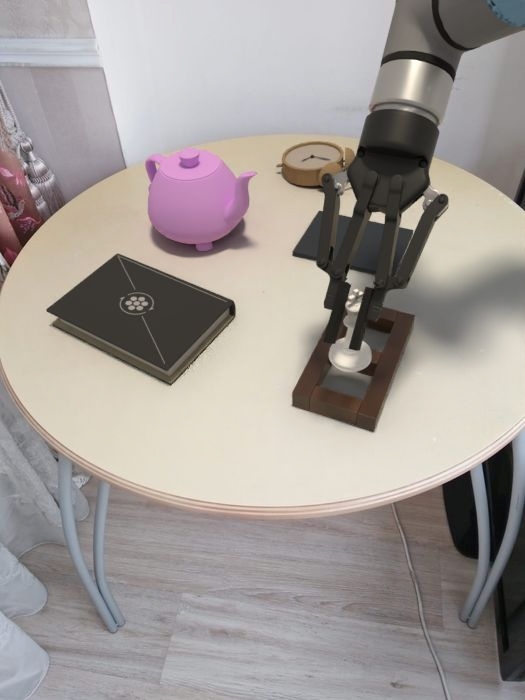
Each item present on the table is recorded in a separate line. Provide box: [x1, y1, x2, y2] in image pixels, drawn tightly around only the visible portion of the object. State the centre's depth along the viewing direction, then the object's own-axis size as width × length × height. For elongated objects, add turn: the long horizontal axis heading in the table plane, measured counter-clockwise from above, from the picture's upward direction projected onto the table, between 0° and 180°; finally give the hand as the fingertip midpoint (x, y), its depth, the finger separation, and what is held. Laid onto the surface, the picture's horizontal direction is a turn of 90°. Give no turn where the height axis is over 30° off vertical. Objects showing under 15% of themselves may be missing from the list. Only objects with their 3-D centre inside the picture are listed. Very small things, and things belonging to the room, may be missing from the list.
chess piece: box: [329, 288, 372, 373], centre depth 62 cm, size 5×5×10 cm
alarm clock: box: [275, 140, 356, 188], centre depth 102 cm, size 11×5×15 cm
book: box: [45, 253, 237, 386], centre depth 78 cm, size 22×15×3 cm
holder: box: [291, 299, 416, 433], centre depth 71 cm, size 10×18×2 cm, turn 156°
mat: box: [292, 210, 415, 276], centre depth 89 cm, size 16×12×1 cm
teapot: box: [144, 147, 258, 252], centre depth 88 cm, size 22×16×14 cm
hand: (341, 345), depth 59 cm, fingers closed on chess piece, 2 cm apart
